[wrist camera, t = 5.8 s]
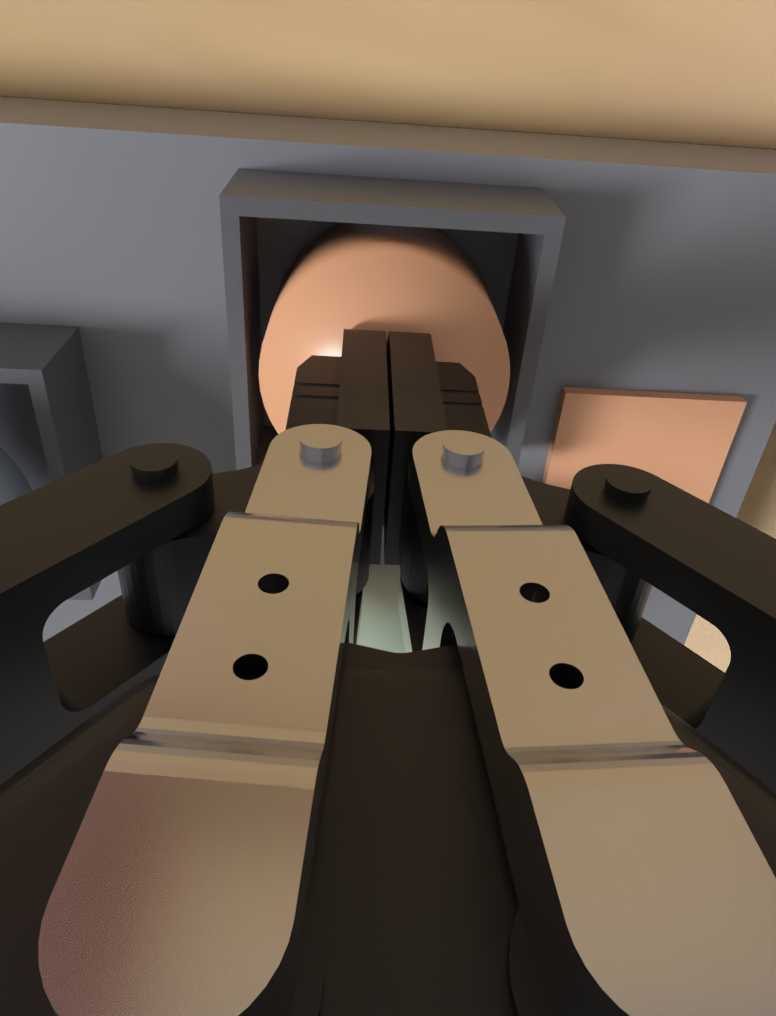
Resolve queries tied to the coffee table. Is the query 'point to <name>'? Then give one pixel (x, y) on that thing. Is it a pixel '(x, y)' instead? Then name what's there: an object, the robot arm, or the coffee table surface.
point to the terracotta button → (383, 308)
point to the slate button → (11, 479)
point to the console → (398, 202)
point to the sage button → (381, 609)
